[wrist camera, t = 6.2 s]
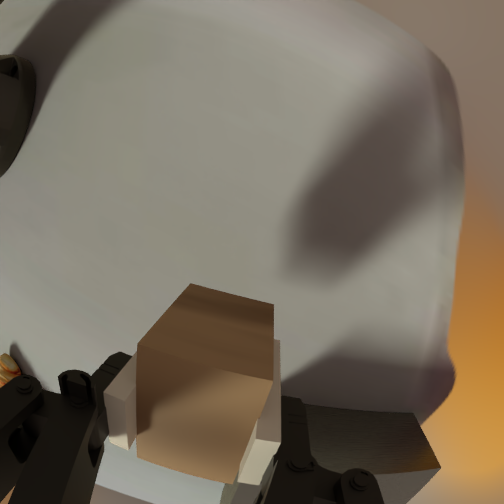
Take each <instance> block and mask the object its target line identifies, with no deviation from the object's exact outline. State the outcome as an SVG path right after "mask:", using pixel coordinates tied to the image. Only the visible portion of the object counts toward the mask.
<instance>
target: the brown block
mask: <svg viewBox="0 0 504 504" xmlns="http://www.w3.org/2000/svg"><path fill="white" fill-rule="evenodd" d="M273 368H274V304H270V303H266V302H262V301H257V300H253V299H249V298H245V297H241V296H237V295H233V294H229V293H225V292H221V291H218V290H214V289H210V288H206V287H202V286H199V285H195V284H191V283H190V285H189V286H188V287H187V288H186V289H185V290H184V291H183V292H182V294H181V295H180V296H179V297H178V298H177V299H176V300H175V301H174V303H173V304H172V305H171V306H170V307H169V308H168V309H167V310H166V312H165V313H164V314H163V315H162V316H161V317H160V318H159V320H158V321H157V322H156V323H155V324H154V325H153V326H152V328H151V329H150V330H149V331H148V332H147V333H146V334H145V336H144V337H143V338H142V339H141V340H140V341H139V343H138V344H137V363H136V426H137V436H136V445H137V457H138V458H140V459H143V460H146V461H148V462H151V463H154V464H157V465H160V466H163V467H166V468H169V469H172V470H176V471H179V472H183V473H186V474H190V475H193V476H197V477H201V478H205V479H209V480H214V481H218V482H223V483H228V484H233V482H234V480H235V477H236V475H237V473H238V470H239V468H240V463H241V460H242V458H243V455H244V453H245V450H246V448H247V445H248V443H249V440H250V437H251V435H252V432H253V429H254V427H255V424H256V421H257V419H260V416H261V413H262V411H263V408H264V405H265V403H266V400H267V397H268V395H269V392H270V389H271V386H272V384H273Z"/></svg>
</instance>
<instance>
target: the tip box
mask: <svg viewBox="0 0 504 504" xmlns="http://www.w3.org/2000/svg"><path fill="white" fill-rule="evenodd" d="M304 406H305V407H306V414H307V423H308V424H307V426H308V432H309V441H310V451H311V455H312V456H313V457H314V458H315V459H316V461H317V462H318V465H320V466H321V467H323V468H325V469H328V470H330V471H334V472H337V473H341V474H343V473H344V472H346V471H347V470H349V469H353V468H360V469H364V470H367V471H369V472H370V473H371V474H373V475H374V476H375V478H376V480H377V482H378V485H379V488H380V491H381V494H382V497H383V500H384V504H406V503H407V502H408V501H409V500H410V499H411V498H412V497H414V496H415V495H416V494H417V493H418V492H419V491H420V490H421V489H422V488H423V486H425V485H426V484H427V483H428V482H429V481H430V479H431V478H432V477H433V476H434V475H435V474H436V473H437V472H438V471H439V470H440V469H441V466H440V464H439V462H438V461H437V458H436V456H435V454H434V452H433V450H432V448H431V446H430V444H429V442H428V440H427V438H426V436H425V435H424V433H423V431H422V429H421V427H420V425H419V423H418V421H417V419H416V418H415V416H414V414H413V413H388V412H371V411H358V410H347V409H338V408H329V407H322V406H314V405H308V404H304ZM238 475H239V470H238V473H237V475H236V477H235V480H234V482H233V484H228V483H225V486H224V489H223V491H222V496H221V500H220V504H253V502H254V500H255V499H256V497H257V496H258V494H259V492H260V490H261V487H262V480H261V482H260V484H259V485H253V484H247V483H241V482H237V481H238Z"/></svg>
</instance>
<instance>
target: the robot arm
mask: <svg viewBox="0 0 504 504" xmlns="http://www.w3.org/2000/svg"><path fill="white" fill-rule="evenodd" d="M3 1H4V0H0V4H1V3H2V2H3ZM35 88H36V79H35V72H34V69H33V66H32V65H31V63H30V62H29V61H27V60H25V59H23V58H21V57H18V56H16V55H0V177H1V176H2V175H3V174H4V173H5V171H6V170H7V169H8V167H9V166H10V164H11V163H12V161H13V159H14V158H15V156H16V154H17V152H18V150H19V148H20V145H21V143H22V140H23V138H24V135H25V133H26V130H27V127H28V124H29V120H30V117H31V113H32V108H33V104H34V98H35ZM136 363H137V352H136V353H135V354H134V355H133V356H130V355H128V354H125V353H122V352H118V353H115V354H113V355H111V356H109V357H108V359H107V360H106V361H105V362H104V364H102V365H101V366H100V367H99V369H97V370H96V371H95V372H94V373H93V374H92V376H90V375H89V374H88V373H86V372H84V371H80V370H67V371H65V372H62V373H61V374H60V375H59V376H58V380H59V385H60V390H61V394H59V393H54V392H50V391H47V390H43V389H42V387H41V384H40V382H39V381H38V380H37V379H36V378H34V377H32V376H30V375H19V376H16V377H14V378H13V379H11V380H10V381H9V382H7V383H6V384H5V385H3V386H2V387H1V388H0V502H1V501H2V500H3V499H4V498H5V496H6V495H7V494H8V493H9V492H10V491H11V489H12V488H13V487H14V486H15V488H14V490H13V493H12V495H11V498H10V500H9V503H8V504H90V500H91V495H92V492H93V488H94V484H95V481H96V477H97V473H98V470H99V466H100V463H101V459H102V456H103V453H104V441H105V439H106V437H107V436H108V434H109V440H110V443H112V444H115V445H117V446H119V447H122V448H124V449H126V450H129V449H130V447H131V445H132V443H133V441H134V439H135V438H136V436H137V426H136ZM307 424H308V423H307V414H306V407H305V406H304V404H303V403H302V401H301V399H299V398H293V397H287V396H281V375H280V340H275V339H274V368H273V384H272V386H271V389H270V392H269V395H268V397H267V400H266V403H265V405H264V408H263V411H262V413H261V416H260V419H257V421H256V424H255V427H254V429H253V432H252V435H251V437H250V440H249V443H248V445H247V448H246V450H245V453H244V455H243V458H242V460H241V463H240V468H239V475H238V481H237V482H241V483H247V484H253V485H259V484H260V482H261V480H262V487H261V490H260V492H259V494H258V496H257V497H256V499H255V500H254V502H253V504H384V500H383V497H382V494H381V491H380V488H379V485H378V482H377V480H376V478H375V476H374V475H373V474H371V473H370V472H369V471H367V470H364V469H360V468H353V469H349V470H347V471H346V472H344V473H343V474H341V473H337V472H334V471H330V470H328V469H325V468H323V467H321V466H320V465H318V462H317V461H316V459H315V458H314V457H313V456H312V455H311V451H310V441H309V432H308V426H307Z"/></svg>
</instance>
